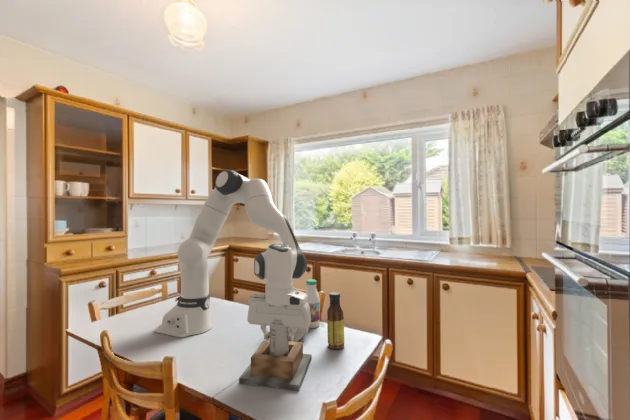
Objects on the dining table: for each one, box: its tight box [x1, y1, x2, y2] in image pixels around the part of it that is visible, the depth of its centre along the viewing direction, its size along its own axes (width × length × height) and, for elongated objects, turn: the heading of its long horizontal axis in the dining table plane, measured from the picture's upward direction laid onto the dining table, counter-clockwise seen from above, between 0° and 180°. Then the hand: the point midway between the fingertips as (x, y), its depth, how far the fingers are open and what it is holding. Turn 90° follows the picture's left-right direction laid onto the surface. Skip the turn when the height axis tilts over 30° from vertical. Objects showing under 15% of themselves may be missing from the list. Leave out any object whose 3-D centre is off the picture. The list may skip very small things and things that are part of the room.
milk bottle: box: [304, 278, 321, 329], centre depth 128 cm, size 8×8×20 cm
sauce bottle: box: [326, 291, 345, 350], centre depth 108 cm, size 6×6×20 cm
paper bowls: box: [289, 327, 309, 342], centre depth 115 cm, size 15×15×8 cm
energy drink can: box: [269, 319, 289, 357], centre depth 91 cm, size 6×6×15 cm
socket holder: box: [238, 338, 313, 392], centre depth 91 cm, size 18×18×6 cm
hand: (278, 339), depth 91 cm, fingers open, 6 cm apart
